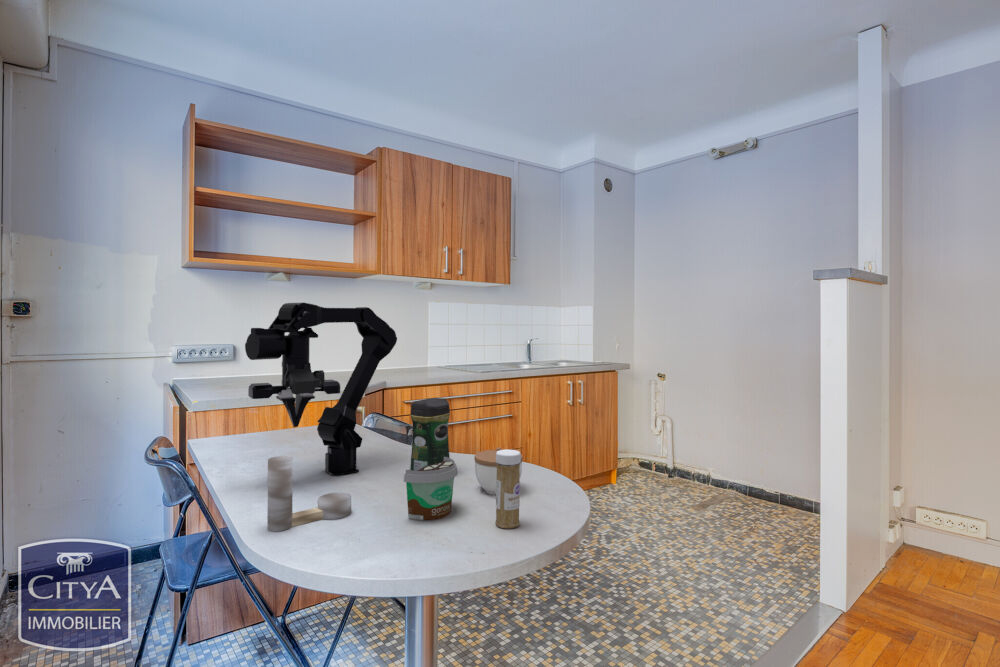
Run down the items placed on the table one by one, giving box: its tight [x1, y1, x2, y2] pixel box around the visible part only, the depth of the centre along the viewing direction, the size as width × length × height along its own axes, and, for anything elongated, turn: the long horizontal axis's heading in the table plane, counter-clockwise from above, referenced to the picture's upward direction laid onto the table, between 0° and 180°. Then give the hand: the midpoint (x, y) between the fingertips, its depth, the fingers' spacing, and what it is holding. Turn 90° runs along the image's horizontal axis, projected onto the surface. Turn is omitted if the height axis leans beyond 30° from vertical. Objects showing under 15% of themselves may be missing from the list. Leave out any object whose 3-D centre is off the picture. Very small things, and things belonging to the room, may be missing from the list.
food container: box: [403, 457, 459, 522], centre depth 96 cm, size 12×6×10 cm, turn 148°
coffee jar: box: [409, 397, 451, 471], centre depth 124 cm, size 10×8×19 cm
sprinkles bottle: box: [494, 449, 522, 530], centre depth 94 cm, size 5×5×14 cm
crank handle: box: [266, 455, 352, 533], centre depth 93 cm, size 15×6×12 cm, turn 132°
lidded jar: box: [474, 447, 524, 495], centre depth 113 cm, size 11×11×9 cm
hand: (295, 426), depth 116 cm, fingers closed
